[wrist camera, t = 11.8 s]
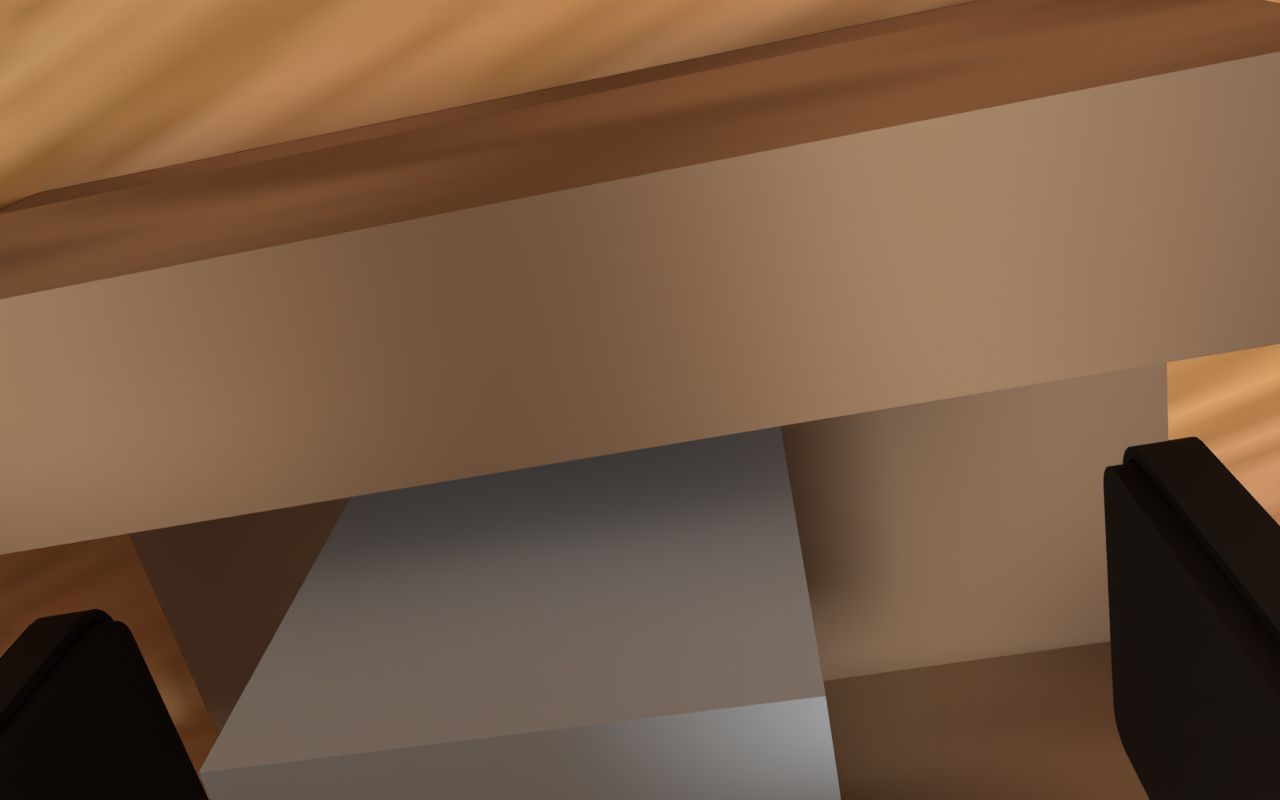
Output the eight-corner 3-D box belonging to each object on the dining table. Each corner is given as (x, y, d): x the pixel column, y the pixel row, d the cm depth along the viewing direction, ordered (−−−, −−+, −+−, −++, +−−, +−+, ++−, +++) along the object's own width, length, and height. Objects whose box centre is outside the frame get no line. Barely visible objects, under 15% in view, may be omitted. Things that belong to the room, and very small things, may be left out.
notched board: (301, 820, 17) (156, 1169, 12) (37, 193, 13) (-314, 360, 8) (1145, 710, 15) (1336, 1057, 11) (1121, -29, 12) (1400, 28, 7)
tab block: (408, 391, 13) (197, 773, 7) (765, 335, 12) (826, 697, 7) (492, 679, 14) (372, 1167, 9) (811, 638, 14) (890, 1126, 8)
